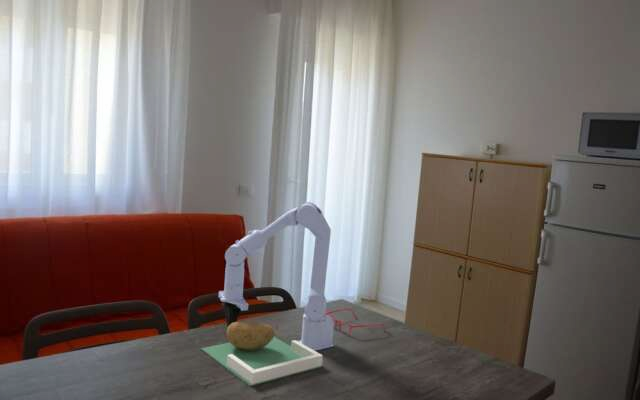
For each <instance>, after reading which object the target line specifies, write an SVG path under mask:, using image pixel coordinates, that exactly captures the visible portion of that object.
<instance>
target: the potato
mask: <svg viewBox="0 0 640 400" xmlns="http://www.w3.org/2000/svg"><path fill="white" fill-rule="evenodd" d="M225 333H226V337H227V339H228V342H229V343H231V344H232V345H233V346H235V347H236V348H239V349H241V350H245V351H253V350H257V349H259V348H262V347H264V346H266V345H267V344H269V343H270V342H271V340H272V339H273V337H275V334H276V333H275V331H274V328H273V326H271V325H270V324H269V325H268V324H267V323H259V322H251V321H248V322H247V321H245V322H244V321H237V322H234V323H231V324H230V325H229V326H227V328H226V332H225Z"/></svg>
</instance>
